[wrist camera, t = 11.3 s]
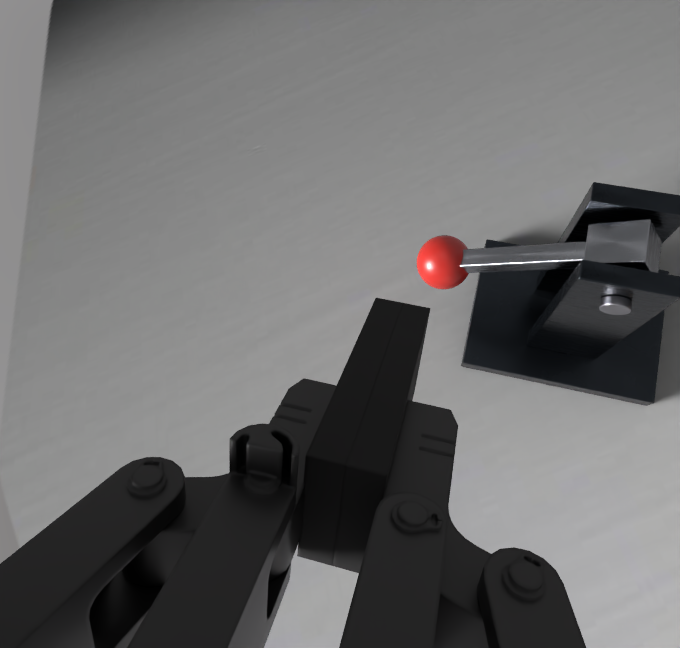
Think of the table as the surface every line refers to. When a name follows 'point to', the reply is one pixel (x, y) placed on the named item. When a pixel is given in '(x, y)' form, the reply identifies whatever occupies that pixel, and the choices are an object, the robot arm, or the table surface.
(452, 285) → the lever
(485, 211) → the table surface
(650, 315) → the bracket
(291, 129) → the table surface
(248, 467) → the robot arm
